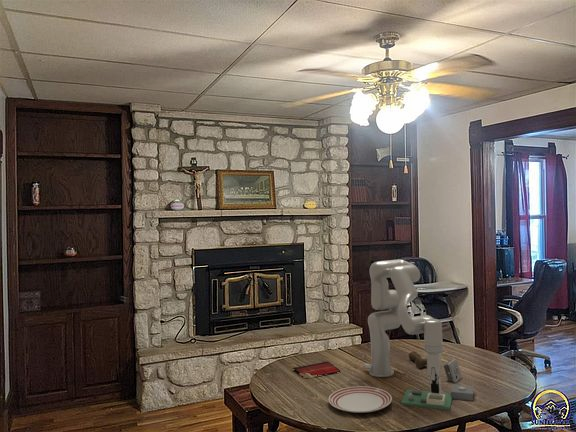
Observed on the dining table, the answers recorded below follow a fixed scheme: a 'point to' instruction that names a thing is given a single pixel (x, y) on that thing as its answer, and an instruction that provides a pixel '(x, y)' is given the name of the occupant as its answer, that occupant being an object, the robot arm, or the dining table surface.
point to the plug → (439, 387)
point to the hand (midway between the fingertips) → (435, 390)
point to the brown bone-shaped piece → (417, 360)
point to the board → (427, 399)
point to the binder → (318, 369)
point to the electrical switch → (453, 371)
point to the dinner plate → (360, 399)
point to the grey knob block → (462, 392)
